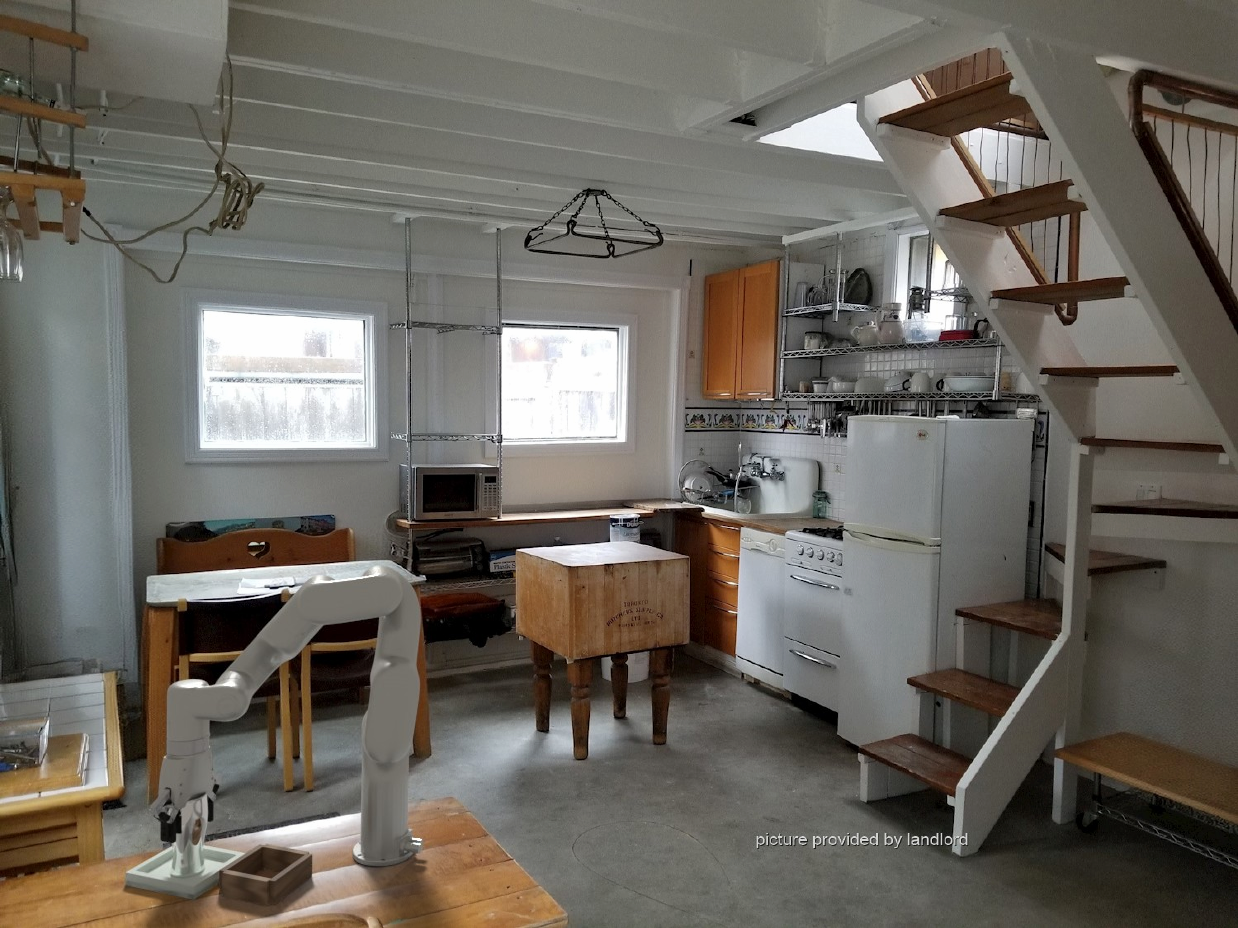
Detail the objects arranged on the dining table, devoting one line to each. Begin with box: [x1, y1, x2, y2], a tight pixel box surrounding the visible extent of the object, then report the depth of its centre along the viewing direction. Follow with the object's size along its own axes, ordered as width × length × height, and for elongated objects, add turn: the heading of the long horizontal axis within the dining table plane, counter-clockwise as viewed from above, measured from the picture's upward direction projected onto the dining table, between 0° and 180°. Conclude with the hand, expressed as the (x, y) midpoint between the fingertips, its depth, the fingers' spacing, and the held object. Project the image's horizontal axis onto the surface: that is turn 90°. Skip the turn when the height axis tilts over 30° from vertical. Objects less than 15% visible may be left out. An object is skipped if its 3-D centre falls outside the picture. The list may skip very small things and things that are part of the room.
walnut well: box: [218, 843, 313, 906], centre depth 171 cm, size 12×12×4 cm
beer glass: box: [168, 791, 208, 878], centre depth 173 cm, size 7×7×15 cm
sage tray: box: [124, 844, 246, 901], centre depth 174 cm, size 16×14×2 cm
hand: (187, 830), depth 173 cm, fingers open, 9 cm apart
